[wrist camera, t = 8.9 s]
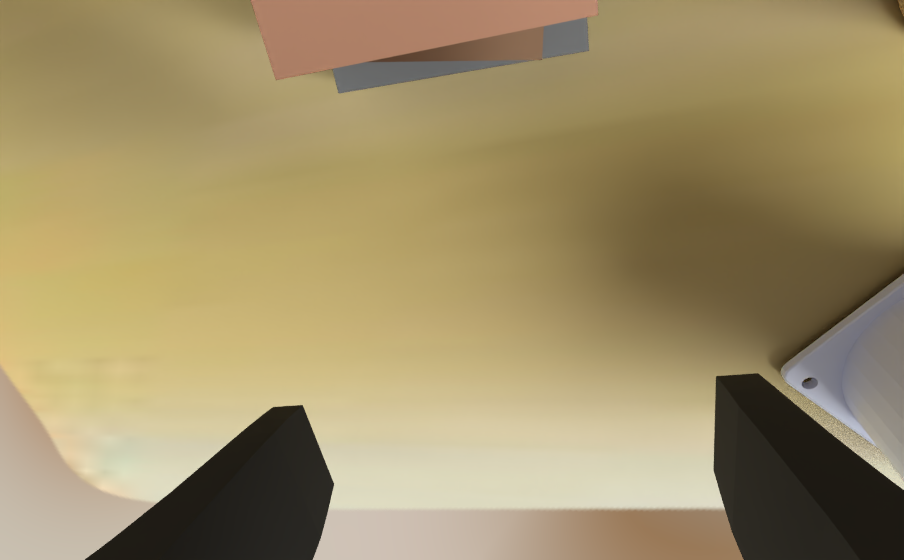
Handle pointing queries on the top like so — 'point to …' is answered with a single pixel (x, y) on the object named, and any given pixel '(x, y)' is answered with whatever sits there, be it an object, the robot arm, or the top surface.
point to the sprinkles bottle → (901, 6)
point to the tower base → (376, 74)
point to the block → (392, 27)
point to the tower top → (483, 49)
